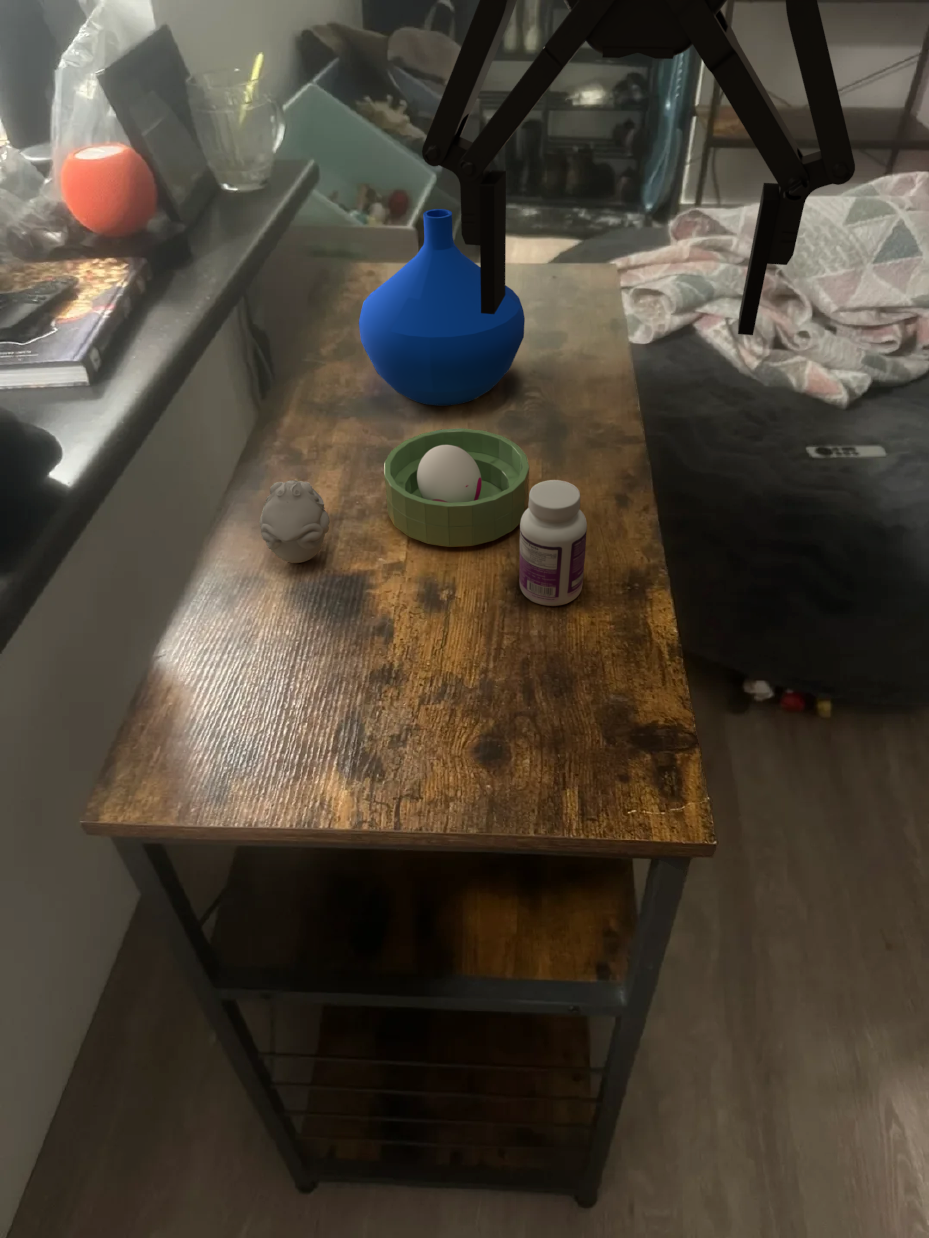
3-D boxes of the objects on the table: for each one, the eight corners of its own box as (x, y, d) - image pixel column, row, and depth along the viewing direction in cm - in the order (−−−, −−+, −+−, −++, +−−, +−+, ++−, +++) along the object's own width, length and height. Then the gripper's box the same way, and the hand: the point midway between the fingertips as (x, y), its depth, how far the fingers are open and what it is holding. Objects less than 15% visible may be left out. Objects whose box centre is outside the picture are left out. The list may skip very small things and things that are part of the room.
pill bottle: (561, 561, 77) (568, 467, 71) (593, 596, 74) (603, 501, 67) (507, 579, 76) (508, 484, 69) (537, 616, 72) (541, 519, 66)
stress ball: (475, 553, 83) (516, 503, 79) (402, 521, 79) (442, 467, 76) (465, 505, 88) (503, 456, 85) (397, 473, 85) (433, 420, 81)
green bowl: (539, 481, 87) (541, 436, 84) (510, 561, 78) (511, 514, 74) (411, 465, 90) (408, 421, 86) (369, 541, 80) (364, 495, 77)
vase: (483, 341, 111) (482, 178, 99) (550, 404, 99) (559, 226, 86) (345, 369, 106) (325, 201, 94) (397, 439, 94) (382, 256, 81)
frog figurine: (339, 532, 81) (329, 467, 77) (328, 579, 76) (317, 513, 72) (274, 532, 82) (260, 467, 77) (258, 579, 76) (243, 513, 72)
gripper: (1006, -244, 34) (855, 304, 48) (386, -214, 39) (415, 272, 53) (1051, -258, 28) (866, 365, 42) (323, -222, 33) (374, 323, 47)
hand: (615, 314), depth 47 cm, fingers open, 13 cm apart
